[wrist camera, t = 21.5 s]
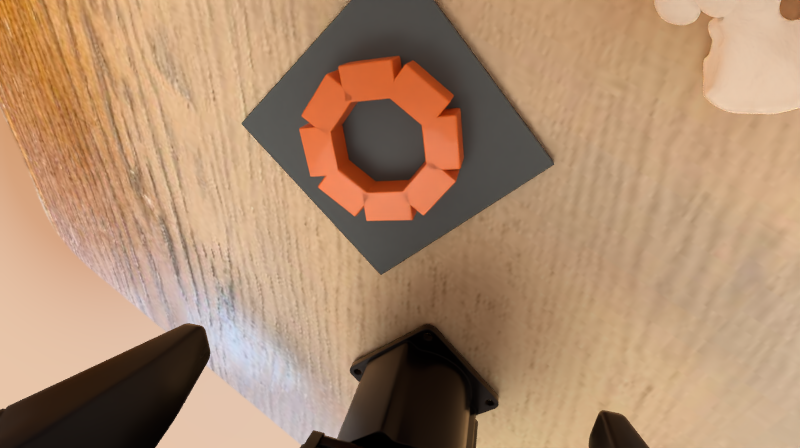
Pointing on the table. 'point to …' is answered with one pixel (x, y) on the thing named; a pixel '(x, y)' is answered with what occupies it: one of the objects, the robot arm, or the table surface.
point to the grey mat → (401, 124)
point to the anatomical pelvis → (745, 53)
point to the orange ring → (414, 97)
